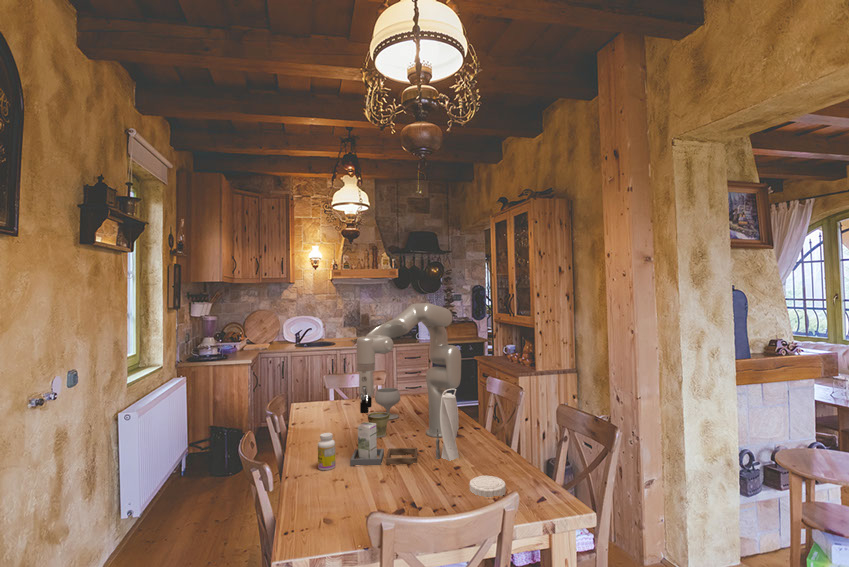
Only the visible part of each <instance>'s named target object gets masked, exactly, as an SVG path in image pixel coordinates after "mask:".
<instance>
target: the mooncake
mask: <svg viewBox="0 0 849 567" xmlns="http://www.w3.org/2000/svg"><path fill="white" fill-rule="evenodd" d="M468 485H469V492H470V491H471V492H472V493H474V494H475V495H479V496H484V497H493V496H499V495H500V496H502V497H500V498H503V497H504V496H505V495H506V493H505V491H506V492H507V484H506V482H505V481H504V480H503V479H502V478H500V477H498V476H495V475H494V476H492V475H487V474H486V475H480V476H476V477H473V478H472V479H470V481H469V484H468ZM503 495H504V496H503Z"/></svg>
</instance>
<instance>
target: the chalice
mask: <svg viewBox="0 0 849 567" xmlns="http://www.w3.org/2000/svg"><path fill="white" fill-rule="evenodd" d="M374 400H375V403H376V404H378V405H380V407H383V408H384V409H385V411H386V413H389V414H390V417H389V419H388V421H389V420H395V419H398V418H399V417H400V415H399V414H398V413H391V409H392V407H394V406H396V405H397V404H398V403H400V401H401V393H400V391H399V389H398V388H396V387H383V388H379V389H376V391H375V396H374Z"/></svg>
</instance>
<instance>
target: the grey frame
mask: <svg viewBox="0 0 849 567" xmlns="http://www.w3.org/2000/svg"><path fill="white" fill-rule="evenodd" d="M377 455H379V456H378V457H377V458H364V459H358V448H355V449H354V451H353V453H352V454H351V458H350V463H349V465H350V467H354V466H353V465H381V466H382V464H381V463H383V461H384V456H385V448H377ZM356 457H357V458H356Z"/></svg>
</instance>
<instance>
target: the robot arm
mask: <svg viewBox="0 0 849 567" xmlns="http://www.w3.org/2000/svg"><path fill="white" fill-rule="evenodd" d="M452 321H453V313H452V311H451V310H450V309H448V308H446V307H443V306H440V305H437V304H434V303H431V302H429V303H428V302H424V303H423V302H416V303H412V304H410V305H409V306H408V307H406V308H405V309H404V310H403V311H401V313H399V314H398V315H397V316H396V317H395V318H392V319H390V320H388V321H387V322H383V323H382V324H380V325H378V326H376V327H375V328H373V329H372V330H371V331H370V332H368V333H367V334H366V335H365V336H360V337H358V338H357V339H356V344H355V345H356V347H355V348H356V372H358V388H359V389H358V391H359V394H358V395H359V397H360V403H359V405H360V406H359V409H360V410H359V411H360V414H369V410H370V409H369V408H372V397H373V395H374V393H375V386H374V385H375V384H374V372H376V355H377V354H381V355H382V354H383V355H384V354H389V353H391V351H392V350H393V349H394V341H393V339H392V338H396V337H401V336H404V335H406V334H408V333H409V332H410V331H411V330H412V329H413V328H414V327H415V326H416V325H418V324H419V323H422V324H423V325H424V326H425V328H426V329H427V331H428V334H429V360H430V362H431V363H433V364H436V365H443V366H445V367H443V366H441V367H440V366H433V367H430V368H429V369H427V371H426V374H425V382H426V387H427V392H428V394H427V396H428V429H426V430H425V435H427V436H428V437H432V438H437V428H438V433H439V434H438V438H443V437H442V432H441V426H440V407H441V398H442V394H443V392H444V391H445V390H447V389H456V390H457V388H458V387H459V386H460V384H461V379H462V354H461V353H462V352H461V350H460V349H459V347H458V346H456V345H452V344H449V343H448V333H447V332H448V331H447V329H446V327H448V326H450V325H451V324H452V323H453V322H452ZM446 393H448V391H446V392H445V393H444V394H443V395H445V394H446ZM458 430H460V428H459V426H458ZM458 430H457V431H458Z"/></svg>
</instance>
